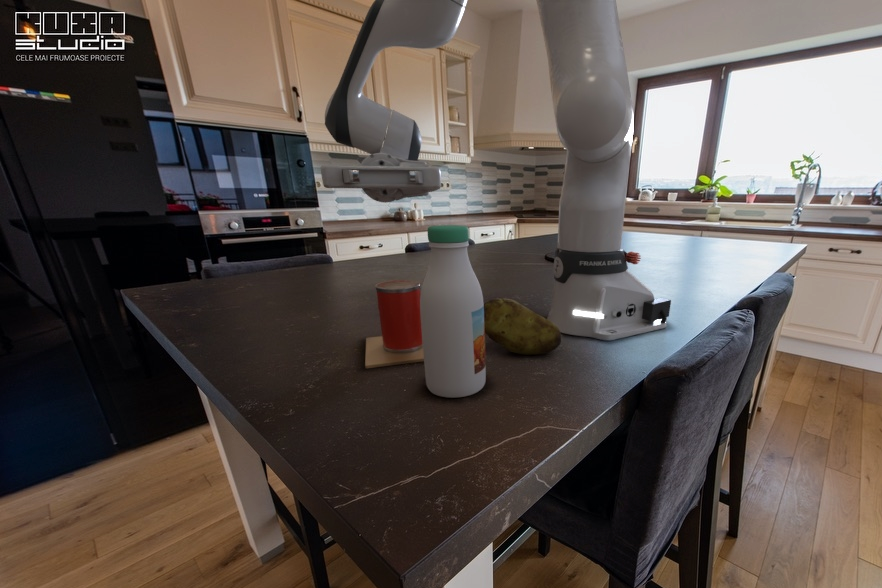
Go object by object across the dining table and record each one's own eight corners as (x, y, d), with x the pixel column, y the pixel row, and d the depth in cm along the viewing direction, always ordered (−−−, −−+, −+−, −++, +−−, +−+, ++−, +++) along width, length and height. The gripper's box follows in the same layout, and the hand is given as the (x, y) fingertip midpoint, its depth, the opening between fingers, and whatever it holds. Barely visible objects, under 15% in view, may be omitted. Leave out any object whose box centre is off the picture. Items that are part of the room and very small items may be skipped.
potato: (537, 368, 56) (539, 314, 53) (470, 348, 63) (468, 300, 61) (566, 350, 63) (568, 301, 60) (501, 334, 70) (501, 290, 67)
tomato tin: (422, 336, 67) (417, 278, 63) (427, 350, 61) (422, 287, 58) (382, 341, 65) (375, 281, 62) (383, 355, 59) (375, 290, 56)
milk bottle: (460, 405, 46) (452, 230, 39) (413, 389, 50) (397, 226, 43) (497, 380, 53) (495, 225, 45) (452, 367, 56) (444, 222, 49)
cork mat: (437, 332, 70) (437, 330, 70) (449, 358, 60) (449, 355, 60) (366, 340, 67) (366, 337, 67) (365, 368, 56) (365, 365, 56)
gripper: (321, 159, 73) (311, 153, 61) (433, 161, 79) (444, 156, 67) (327, 195, 75) (318, 196, 63) (435, 195, 81) (446, 196, 69)
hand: (384, 176), depth 65 cm, fingers open, 8 cm apart
